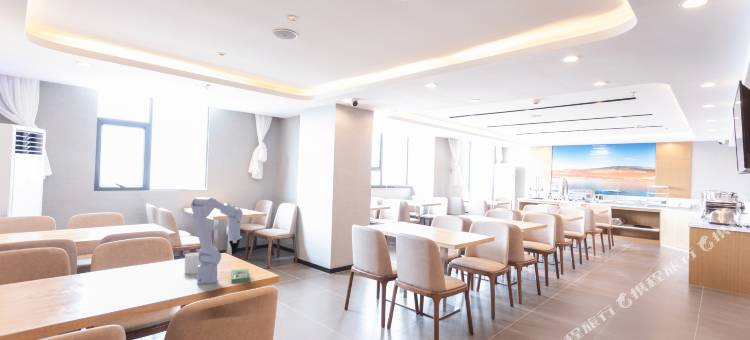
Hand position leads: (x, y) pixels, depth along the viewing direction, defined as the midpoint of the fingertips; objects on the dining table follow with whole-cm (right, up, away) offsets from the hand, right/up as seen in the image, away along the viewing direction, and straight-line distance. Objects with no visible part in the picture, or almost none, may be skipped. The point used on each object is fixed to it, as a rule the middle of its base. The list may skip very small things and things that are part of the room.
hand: (234, 253), depth 211 cm
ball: (+10, -9, -15) cm, 20 cm away
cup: (-23, -10, -1) cm, 25 cm away
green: (+7, -11, -10) cm, 17 cm away
